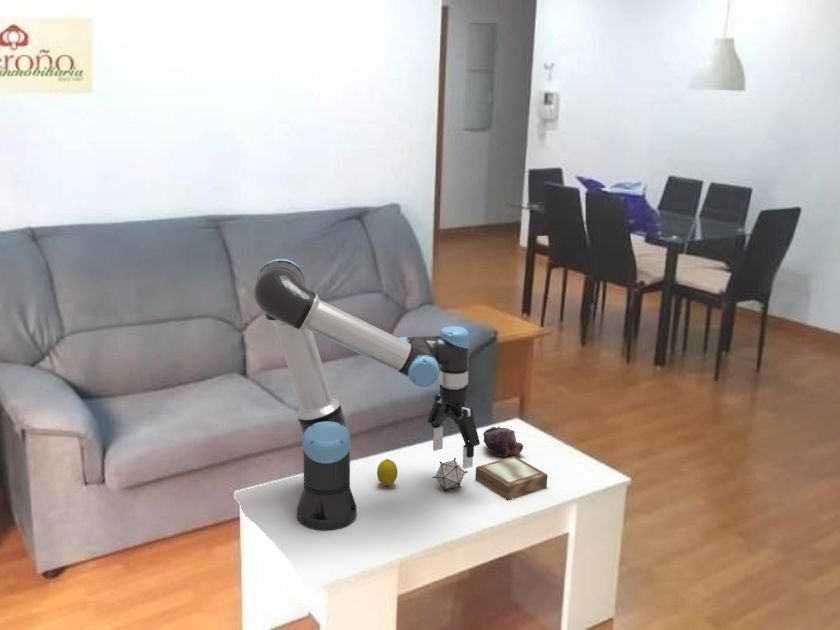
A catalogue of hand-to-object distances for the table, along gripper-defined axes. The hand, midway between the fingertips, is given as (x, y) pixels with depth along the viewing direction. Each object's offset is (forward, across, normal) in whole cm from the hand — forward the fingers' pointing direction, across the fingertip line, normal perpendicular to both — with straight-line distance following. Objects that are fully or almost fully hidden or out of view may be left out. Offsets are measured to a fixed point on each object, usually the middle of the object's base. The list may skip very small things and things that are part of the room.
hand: (452, 458), depth 235 cm
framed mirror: (+9, -7, -16) cm, 19 cm away
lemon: (+9, +10, +14) cm, 20 cm away
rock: (+10, +10, -26) cm, 29 cm away
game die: (+9, 0, 0) cm, 9 cm away
